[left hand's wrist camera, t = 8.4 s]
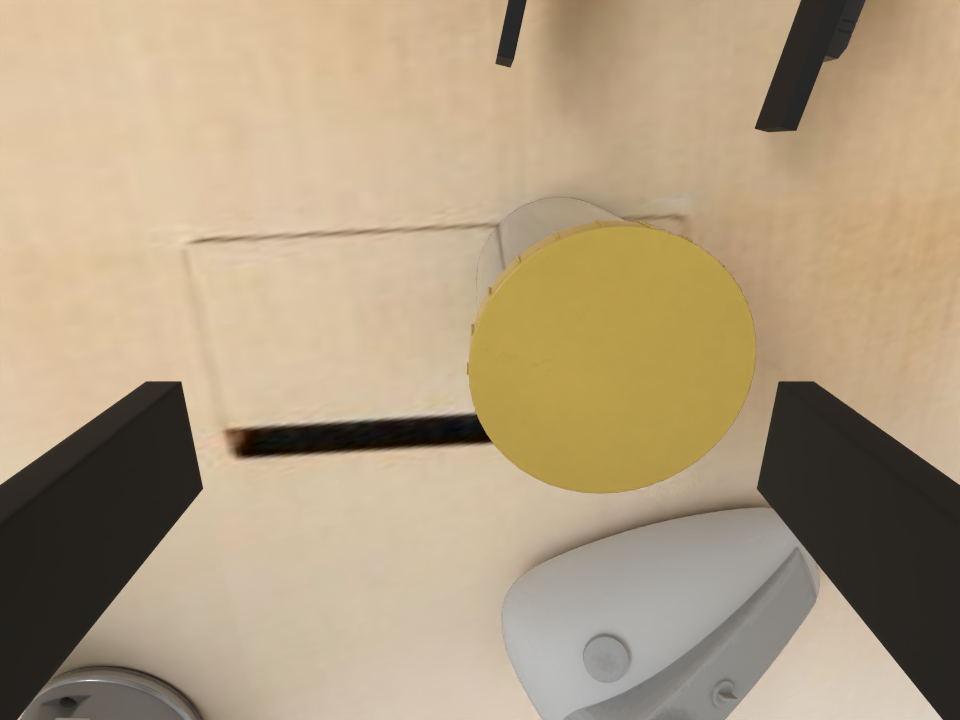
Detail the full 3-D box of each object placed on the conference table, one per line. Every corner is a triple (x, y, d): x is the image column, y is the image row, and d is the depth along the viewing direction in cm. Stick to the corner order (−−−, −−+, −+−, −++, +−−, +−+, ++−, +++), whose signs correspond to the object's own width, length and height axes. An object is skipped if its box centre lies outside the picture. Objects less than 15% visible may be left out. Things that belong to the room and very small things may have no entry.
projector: (712, 713, 51) (799, 921, 37) (466, 663, 49) (463, 866, 35) (829, 513, 43) (992, 682, 30) (546, 444, 41) (580, 592, 27)
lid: (450, 237, 22) (448, 244, 20) (745, 200, 21) (766, 204, 20) (484, 485, 25) (484, 507, 24) (734, 458, 25) (751, 479, 23)
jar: (467, 208, 35) (461, 252, 21) (633, 187, 35) (749, 216, 20) (486, 361, 39) (492, 493, 24) (636, 344, 39) (737, 467, 24)
